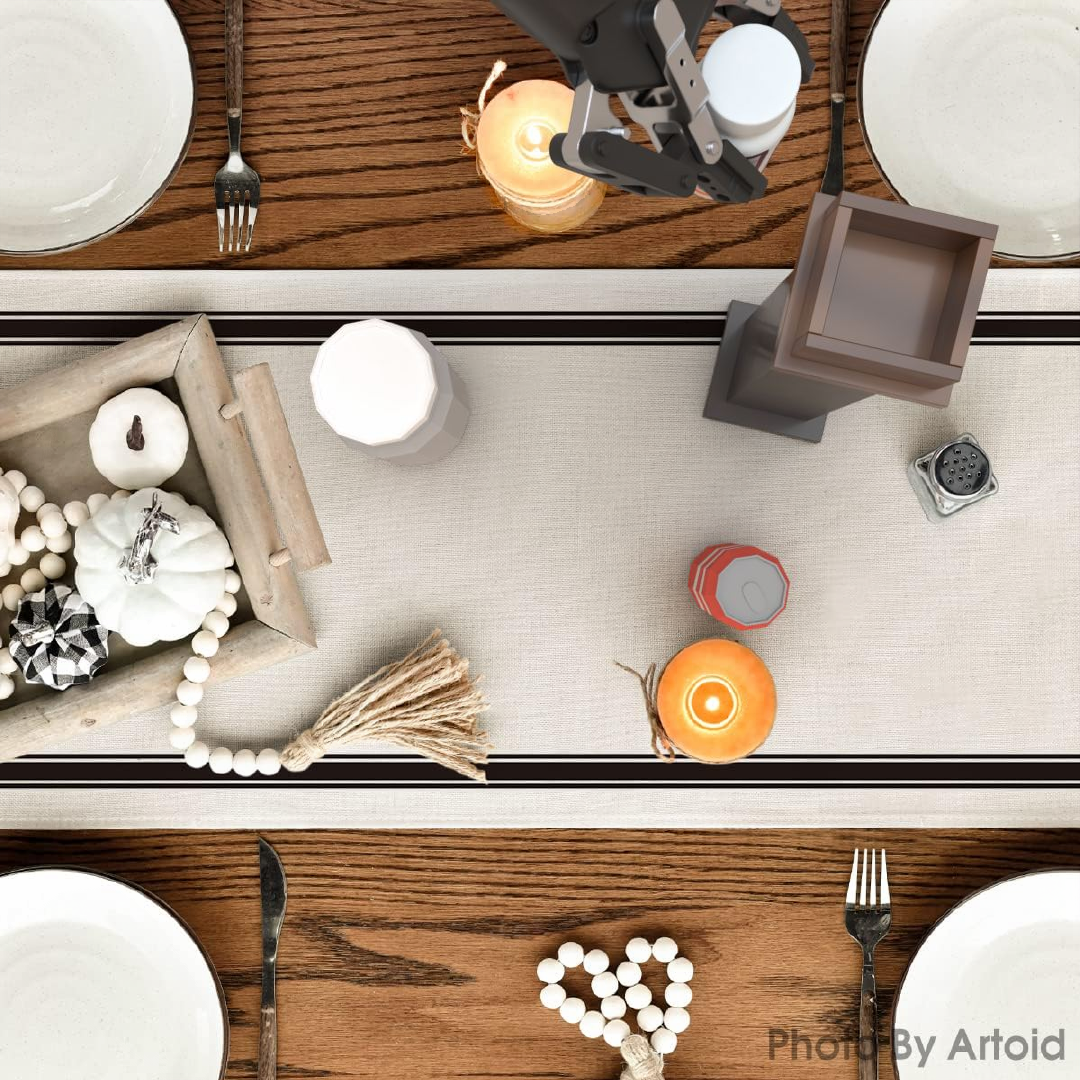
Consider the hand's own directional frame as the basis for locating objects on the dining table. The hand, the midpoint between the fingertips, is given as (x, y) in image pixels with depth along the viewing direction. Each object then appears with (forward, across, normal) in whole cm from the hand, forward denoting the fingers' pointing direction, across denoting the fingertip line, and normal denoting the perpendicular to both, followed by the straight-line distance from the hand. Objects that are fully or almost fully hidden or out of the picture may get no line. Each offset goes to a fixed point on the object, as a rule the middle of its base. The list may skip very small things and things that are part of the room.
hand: (771, 133), depth 41 cm
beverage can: (+35, -20, +18) cm, 44 cm away
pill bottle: (+2, 0, +4) cm, 5 cm away
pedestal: (+34, -2, +20) cm, 39 cm away
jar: (+14, -16, +39) cm, 45 cm away
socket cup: (+15, -2, +1) cm, 15 cm away
